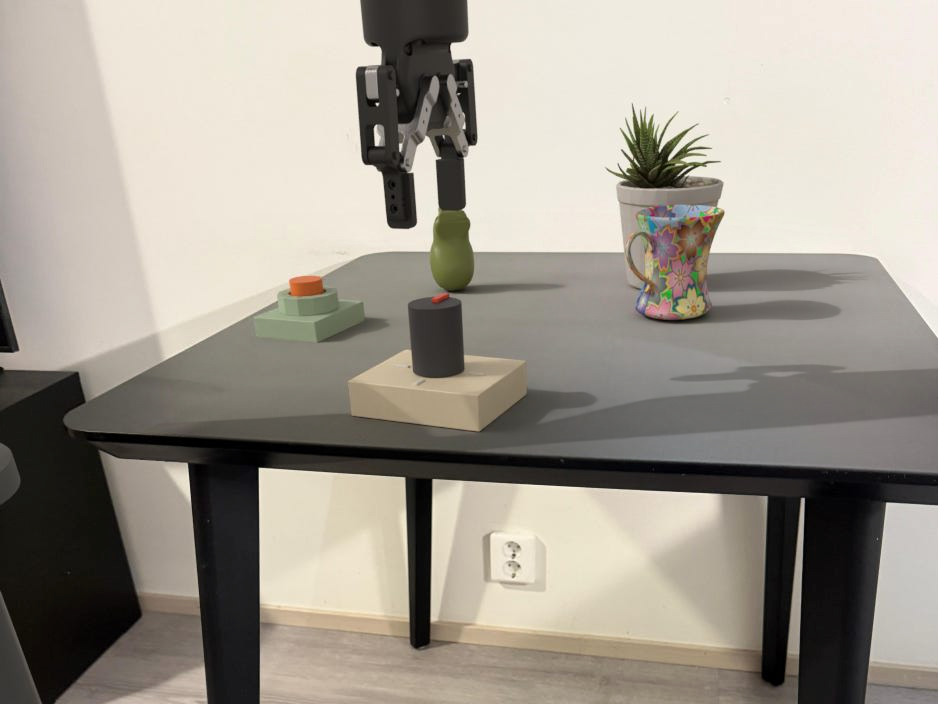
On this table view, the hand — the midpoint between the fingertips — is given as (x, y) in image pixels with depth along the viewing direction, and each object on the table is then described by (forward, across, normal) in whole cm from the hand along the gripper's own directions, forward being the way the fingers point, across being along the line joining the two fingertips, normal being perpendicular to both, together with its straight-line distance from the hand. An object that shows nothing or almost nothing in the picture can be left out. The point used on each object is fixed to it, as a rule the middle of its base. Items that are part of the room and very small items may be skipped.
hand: (428, 218), depth 72 cm
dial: (+12, 0, 0) cm, 12 cm away
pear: (+15, -41, -19) cm, 47 cm away
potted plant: (+15, -51, +6) cm, 53 cm away
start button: (+11, -19, -26) cm, 34 cm away
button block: (+15, -19, -26) cm, 35 cm away
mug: (+15, -34, +10) cm, 39 cm away
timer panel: (+15, 0, 0) cm, 15 cm away
